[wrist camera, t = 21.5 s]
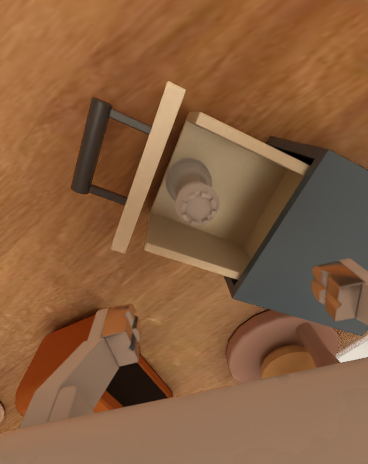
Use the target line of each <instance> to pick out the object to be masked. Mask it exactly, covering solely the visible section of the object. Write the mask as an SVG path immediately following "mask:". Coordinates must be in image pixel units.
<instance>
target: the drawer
mask: <svg viewBox="0 0 368 464" xmlns="http://www.w3.org/2000/svg"><path fill="white" fill-rule="evenodd" d="M185 92H186V90H185V89H183V88H181V87H179V86H177V85H175V84H173V83H171V82H169V81H167V84H166V87H165V90H164V93H163V96H162V99H161V102H160V105H159V108H158V111H157V114H156V116H155V119H154V122H153V125H152V126H150V125H148V124H146V123H143V122H141V121H139V120H137V119H135V118H132V117H130V116H128V115H126V114H123V113H121V112H119V111H117V110H115V109H112V105H111V104H109V103H107V102H105V101H103V100H100V99H98V98H95V97H92V99H91V104H90V108H89V112H88V116H87V121H86V125H85V129H84V133H83V138H82V142H81V146H80V150H79V155H78V159H77V163H76V167H75V172H74V176H73V180H72V184H71V189H72V190H73V191H75V192H77V193H80V194H88V193H92V194H95V195H98V196H100V197H103V198H106V199H109V200H112V201H115V202H117V203H120V204H123V205H125V207H124V210H123V213H122V216H121V219H120V222H119V225H118V228H117V231H116V233H115V236H114V239H113V242H112V245H111V248H110V249H111V250H114V251H117V252H120V253H124V254H125V252H126V249H127V247H128V244H129V241H130V239H131V236H132V233H133V231H134V228H135V225H136V223H137V220H138V217H139V215H140V212H141V209H142V207H143V204H144V201H145V199H146V196H147V193H148V191H149V188H150V185H151V183H152V180H153V177H154V175H155V172H156V169H157V167H158V164H159V161H160V159H161V156H162V153H163V151H164V148H165V145H166V143H167V140H168V137H169V135H170V132H171V129H172V127H173V124H174V121H175V119H176V116H177V113H178V111H179V108H180V105H181V103H182V100H183V97H184V95H185ZM109 117H110V118H112V119H114V120H117V121H119V122H121V123H123V124H126V125H128V126H130V127H133V128H135V129H137V130H139V131H142V132H144V133H146V134H148V135H149V137H148V140H147V143H146V146H145V149H144V152H143V154H142V157H141V160H140V163H139V166H138V169H137V172H136V175H135V178H134V181H133V184H132V187H131V190H130V192H129V195H128V197H126V196H123V195H120V194H118V193H115V192H112V191H110V190H107V189H104V188H101V187H99V186H96V185H93V184H92V185H91V183H92V180H93V176H94V172H95V168H96V165H97V161H98V157H99V154H100V150H101V146H102V142H103V139H104V135H105V131H106V128H107V124H108V120H109ZM188 158H192V159H195V160H199V161H201V162H202V163H203V164H204V165H205V166H206V167H207V168H208V170H209V173H210V175H211V177H212V187H211V188H212V189H214V190H215V191H216V193H217V195H218V197H219V209H218V212H217V214H216V215H215V218H213V219H212V220H211V221H209V222H210V223H208V224H206V225H197V226H193V225H190V224H187V223H185V222H184V221H182V220H181V219H180V218H179V216H178V214H177V213H176V208H175V202H176V201H174V200H173V199H172V198H171V196H170V194H169V193H168V191H167V188H166V176H167V173H168V170H169V169H170V168H171V167H172V165H173V164H174V163H176V162H178V161H180V160H181V159H188ZM309 168H310V165H308V164H306V163H304V162H302V161H300V160H298V159H296V158H294V157H292V156H289V155H287V154H285V153H283V152H281V151H279V150H277V149H275V148H273V147H271V146H269V145H267V144H265V143H263V142H261V141H259V140H257V139H255V138H253V137H251V136H249V135H247V134H245V133H243V132H241V131H239V130H237V129H235V128H233V127H231V126H229V125H227V124H225V123H223V122H221V121H219V120H216V119H214V118H212V117H210V116H208V115H206V114H204V113H202V112H188V115H187V118H186V120H185V123H184V125H183V128H182V130H181V133H180V135H179V138H178V141H177V143H176V146H175V148H174V151H173V153H172V156H171V158H170V161H169V164H168V166H167V169H166V171H165V174H164V176H163V179H162V181H161V184H160V187H159V189H158V192H157V194H156V197H155V199H154V202H153V204H152V207H151V210H150V212H149V215H148V221H147V228H146V236H145V243H144V251H147V252H150V253H153V254H157V255H160V256H163V257H166V258H169V259H173V260H176V261H179V262H182V263H185V264H188V265H192V266H195V267H198V268H201V269H204V270H208V271H211V272H214V273H217V274H220V275H223V276H227V277H230V278H233V279H236V280H238V279H239V278H240V276H241V275H242V273H243V272H244V270H245V268H246V267H247V265H248V264H249V262H250V261H251V259H252V257H253V256H254V254H255V253H256V251H257V249H258V248H259V246H260V245H261V243H262V242H263V240H264V238H265V237H266V235H267V234H268V232H269V231H270V229H271V227H272V226H273V224H274V223H275V221H276V220H277V218H278V216H279V215H280V213H281V212H282V210H283V209H284V207H285V205H286V204H287V202H288V201H289V199H290V197H291V196H292V194H293V193H294V191H295V190H296V188H297V186H298V185H299V183H300V182H301V180H302V179H303V177H304V175H305V174H306V172H307V171H308V169H309Z"/></svg>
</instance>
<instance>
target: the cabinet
mask: <svg viewBox="0 0 368 464" xmlns="http://www.w3.org/2000/svg"><path fill="white" fill-rule="evenodd" d="M267 145H269V146H271V147H273V148H275V149H277V150H279V151H281V152H283V153H285V154H287V155H289V156H292V157H294V158H296V159H298V160H300V161H302V162H304V163H306V164H308V165H310V168H309V169H308V171H307V172H306V174H305V175H304V177H303V179H302V180H301V182H300V183H299V185H298V186H297V188H296V190H295V191H294V193H293V194H292V196H291V197H290V199H289V201H288V202H287V204H286V205H285V207H284V209H283V210H282V212H281V213H280V215H279V216H278V218H277V220H276V221H275V223H274V224H273V226H272V227H271V229H270V231H269V232H268V234H267V235H266V237H265V238H264V240H263V242H262V243H261V245H260V246H259V248H258V249H257V251H256V253H255V254H254V256H253V257H252V259H251V261H250V262H249V264H248V265H247V267H246V268H245V270H244V272H243V273H242V275H241V276H240V278H239V279H238V280H236V279H233V278H230V277H227V276H224V278H225V280H226V283H227V286H228V288H229V291H230V294H231V296H232V298H233V299H236V300H239V301H243V302H246V303H249V304H253V305H256V306H260V307H263V308H267V309H270V310H274V311H277V312H280V313H284V314H287V315H291V316H294V317H298V318H301V319H305V320H308V321H311V322H315V323H318V324H322V325H325V326H329V327H332V328H336V329H339V330H342V331H346V332H349V333H353V334H356V335H360V336H362V335H363V334H364V333H365V332H366V331H367V330H368V325H366V324H364V323H362V322H361V321H359V320H357V319H356V318H352V319H347V320H341V321H334V320H333V318H332V317H331V316H330V315H329V314H328V312H327V311H326V310H325V305H324V304H322V303H320V302H318V300H317V299H316V298H315V296H314V294H313V292H312V288H311V281H312V280H313V278H314V277H315V276H314V275H313V274H312V268H313V266H315V265H320V264H324V263H329V262H333V261H337V260H341V259H346V258H350V259H352V260H353V261H355V262H356V263H357V264H359V265H360V266H361V267H363V268H364V269H365V270H367V271H368V170H367V169H365V168H363V167H361V166H359V165H357V164H355V163H353V162H352V161H350V160H348V159H346V158H344V157H342V156H340V155H338V154H336V153H334V152H333V151H331V150H328V149H324V148H320V147H315V146H311V145H307V144H302V143H298V142H293V141H289V140H285V139H280V138H276V137H270V138H269V140H268V142H267Z"/></svg>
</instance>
